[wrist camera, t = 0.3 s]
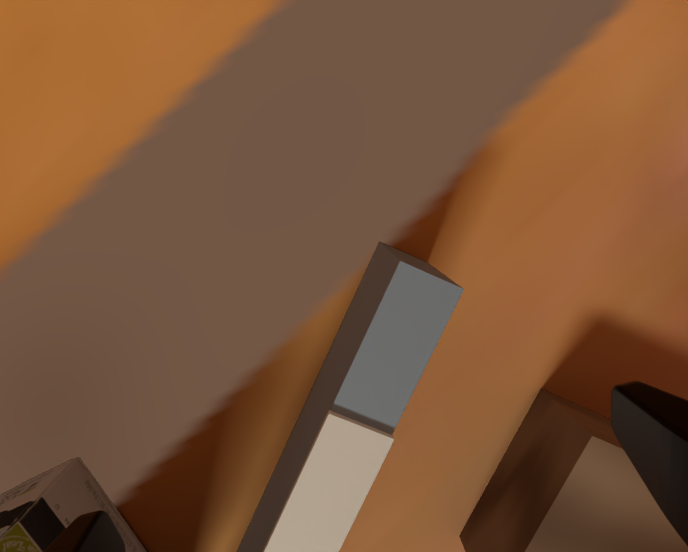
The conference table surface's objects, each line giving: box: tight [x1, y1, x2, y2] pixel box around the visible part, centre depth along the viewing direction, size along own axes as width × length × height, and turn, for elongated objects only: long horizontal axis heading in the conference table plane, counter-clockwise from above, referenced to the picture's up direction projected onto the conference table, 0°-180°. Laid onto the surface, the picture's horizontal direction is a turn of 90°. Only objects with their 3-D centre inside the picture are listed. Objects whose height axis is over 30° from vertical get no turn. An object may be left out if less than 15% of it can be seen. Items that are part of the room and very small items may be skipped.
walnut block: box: [460, 389, 688, 552], centre depth 24 cm, size 9×9×5 cm
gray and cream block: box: [237, 242, 464, 552], centre depth 22 cm, size 22×3×6 cm, turn 156°
